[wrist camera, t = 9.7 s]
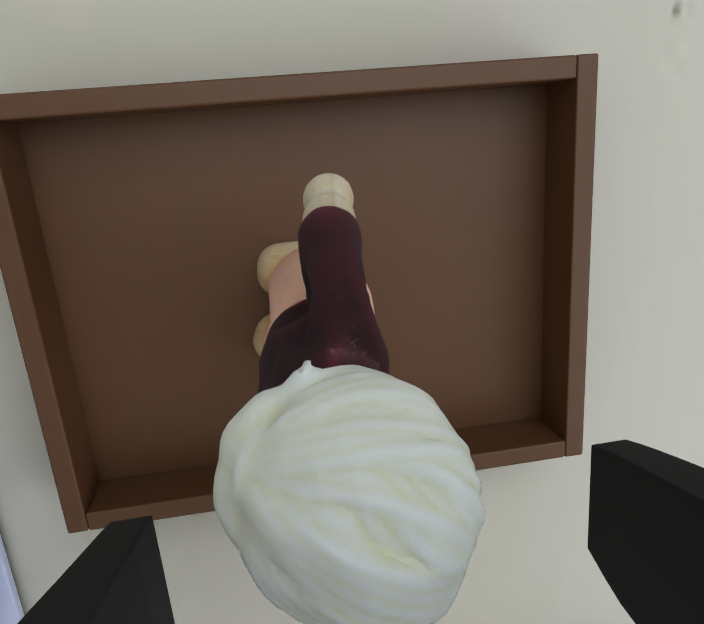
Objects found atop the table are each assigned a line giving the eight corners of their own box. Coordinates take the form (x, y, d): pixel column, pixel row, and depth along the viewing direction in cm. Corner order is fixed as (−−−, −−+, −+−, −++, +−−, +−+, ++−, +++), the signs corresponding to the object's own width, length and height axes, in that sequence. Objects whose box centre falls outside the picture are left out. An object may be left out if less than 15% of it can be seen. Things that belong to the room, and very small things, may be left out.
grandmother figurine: (369, 397, 20) (542, 800, 8) (252, 410, 19) (243, 864, 7) (357, 159, 18) (573, 203, 6) (225, 167, 17) (145, 235, 5)
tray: (88, 490, 20) (67, 534, 18) (-4, 102, 16) (-45, 97, 14) (550, 423, 22) (582, 454, 20) (558, 63, 18) (598, 53, 16)
